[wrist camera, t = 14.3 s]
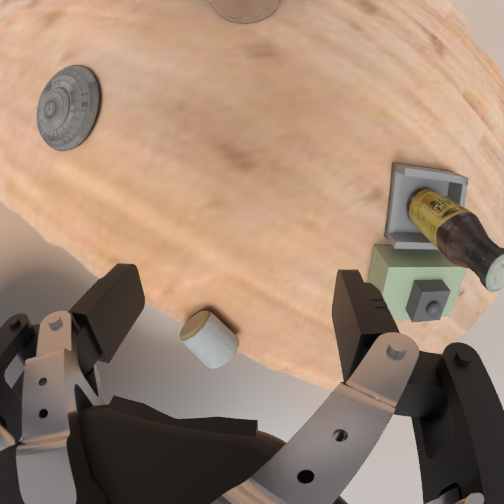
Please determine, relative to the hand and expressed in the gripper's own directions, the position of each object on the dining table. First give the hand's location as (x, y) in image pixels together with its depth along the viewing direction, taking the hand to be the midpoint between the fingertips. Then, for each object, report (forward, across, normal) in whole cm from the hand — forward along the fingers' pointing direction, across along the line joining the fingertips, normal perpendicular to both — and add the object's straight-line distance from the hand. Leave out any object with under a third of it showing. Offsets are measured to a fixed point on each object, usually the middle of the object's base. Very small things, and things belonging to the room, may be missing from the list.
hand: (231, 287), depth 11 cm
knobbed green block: (+28, -23, +9) cm, 37 cm away
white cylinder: (+28, +11, +28) cm, 41 cm away
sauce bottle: (+28, -23, +4) cm, 36 cm away
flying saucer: (+29, +32, -14) cm, 45 cm away
